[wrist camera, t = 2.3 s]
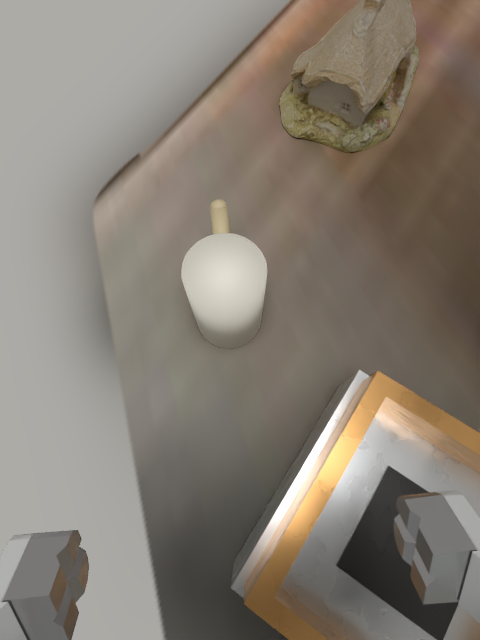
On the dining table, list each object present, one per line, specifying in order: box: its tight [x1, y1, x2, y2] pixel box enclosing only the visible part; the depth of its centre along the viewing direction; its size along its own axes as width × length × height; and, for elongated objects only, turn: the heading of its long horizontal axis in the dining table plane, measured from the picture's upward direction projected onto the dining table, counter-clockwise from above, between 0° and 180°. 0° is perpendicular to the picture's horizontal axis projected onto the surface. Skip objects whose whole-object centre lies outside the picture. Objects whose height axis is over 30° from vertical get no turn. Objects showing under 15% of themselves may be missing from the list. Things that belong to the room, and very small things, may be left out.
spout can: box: [181, 199, 267, 349], centre depth 29 cm, size 9×5×8 cm, turn 5°
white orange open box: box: [231, 370, 480, 640], centre depth 23 cm, size 17×14×9 cm
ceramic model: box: [279, 0, 419, 152], centre depth 35 cm, size 14×11×10 cm
